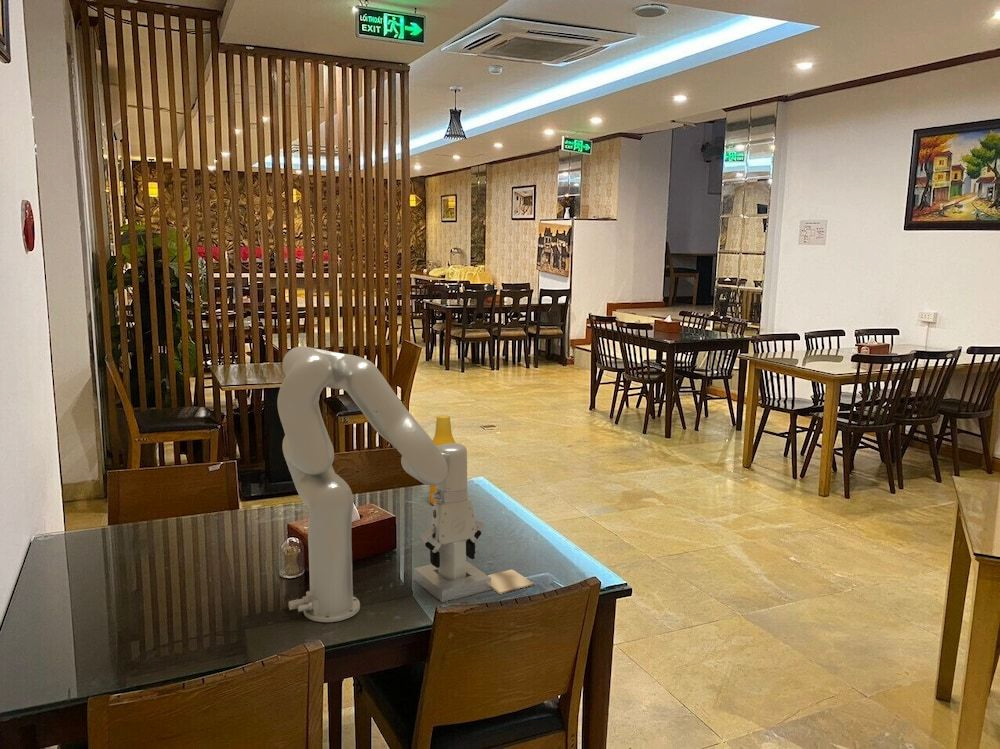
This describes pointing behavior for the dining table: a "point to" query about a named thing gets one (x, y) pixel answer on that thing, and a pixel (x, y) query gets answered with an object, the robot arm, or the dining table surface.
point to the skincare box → (452, 561)
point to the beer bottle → (441, 439)
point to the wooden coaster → (508, 581)
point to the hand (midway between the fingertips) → (453, 561)
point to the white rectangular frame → (452, 582)
